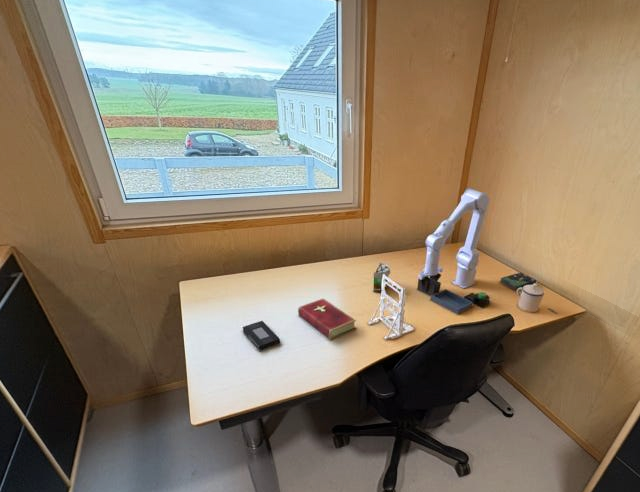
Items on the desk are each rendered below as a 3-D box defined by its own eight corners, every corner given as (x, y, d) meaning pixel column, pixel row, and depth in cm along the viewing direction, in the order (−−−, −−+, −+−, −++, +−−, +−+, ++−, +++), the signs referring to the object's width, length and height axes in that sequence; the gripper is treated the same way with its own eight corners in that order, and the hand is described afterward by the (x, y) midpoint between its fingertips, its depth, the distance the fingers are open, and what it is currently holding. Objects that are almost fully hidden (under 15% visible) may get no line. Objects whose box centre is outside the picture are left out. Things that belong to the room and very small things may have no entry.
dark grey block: (423, 286, 170) (424, 275, 167) (439, 294, 165) (441, 283, 161) (416, 289, 168) (418, 277, 164) (432, 297, 162) (434, 285, 159)
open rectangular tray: (444, 293, 166) (445, 289, 164) (472, 307, 157) (473, 302, 155) (430, 300, 160) (431, 295, 158) (457, 314, 151) (458, 309, 149)
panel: (471, 295, 166) (473, 288, 164) (490, 304, 160) (492, 297, 158) (463, 299, 162) (464, 292, 160) (482, 308, 156) (484, 301, 154)
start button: (480, 294, 161) (481, 291, 160) (487, 297, 158) (488, 294, 157) (476, 296, 158) (476, 293, 157) (483, 300, 156) (483, 296, 155)
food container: (386, 295, 161) (387, 275, 156) (372, 293, 162) (373, 273, 157) (391, 283, 171) (392, 263, 166) (378, 281, 172) (379, 262, 167)
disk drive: (518, 277, 187) (499, 282, 179) (520, 272, 185) (500, 277, 178) (535, 285, 180) (516, 291, 172) (537, 280, 178) (517, 286, 171)
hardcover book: (329, 340, 130) (329, 330, 128) (298, 315, 142) (297, 306, 140) (355, 328, 137) (355, 319, 135) (323, 306, 150) (323, 297, 147)
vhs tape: (259, 351, 122) (259, 346, 121) (243, 331, 131) (242, 326, 130) (280, 343, 127) (279, 338, 126) (262, 325, 136) (262, 320, 134)
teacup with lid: (542, 309, 159) (551, 286, 152) (529, 314, 154) (537, 290, 148) (521, 298, 167) (527, 275, 161) (507, 302, 162) (514, 279, 156)
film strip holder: (417, 331, 139) (423, 284, 128) (387, 341, 132) (391, 293, 121) (395, 313, 148) (399, 269, 137) (366, 322, 141) (368, 276, 131)
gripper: (435, 255, 165) (432, 281, 172) (414, 262, 156) (411, 290, 163) (448, 260, 161) (443, 287, 168) (426, 268, 152) (422, 296, 159)
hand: (428, 289), depth 165 cm, fingers closed on dark grey block, 4 cm apart
